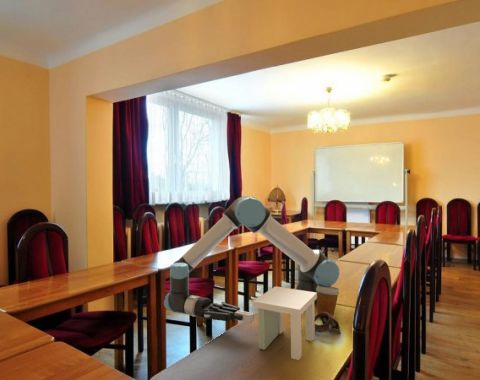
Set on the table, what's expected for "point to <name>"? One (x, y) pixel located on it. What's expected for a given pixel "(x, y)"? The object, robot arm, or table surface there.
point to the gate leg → (267, 327)
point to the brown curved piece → (326, 322)
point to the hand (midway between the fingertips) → (252, 318)
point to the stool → (291, 312)
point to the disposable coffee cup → (327, 299)
